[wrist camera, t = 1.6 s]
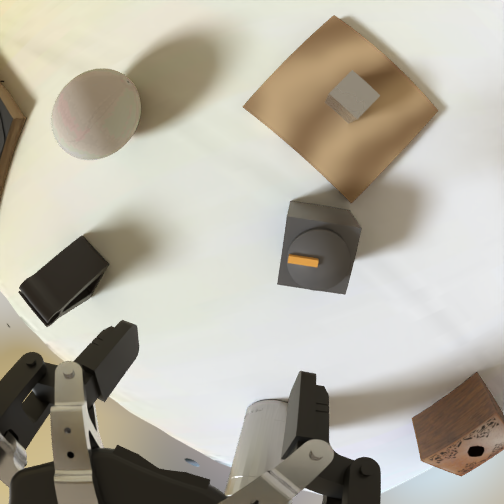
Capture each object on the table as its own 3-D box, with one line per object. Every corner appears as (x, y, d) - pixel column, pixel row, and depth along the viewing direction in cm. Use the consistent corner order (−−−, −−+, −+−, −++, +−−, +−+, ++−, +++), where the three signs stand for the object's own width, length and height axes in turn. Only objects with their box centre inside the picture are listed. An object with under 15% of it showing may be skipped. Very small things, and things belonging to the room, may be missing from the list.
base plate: (432, 111, 22) (438, 110, 21) (348, 200, 27) (351, 203, 26) (332, 20, 20) (334, 15, 19) (245, 108, 26) (242, 106, 24)
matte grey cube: (368, 103, 22) (380, 95, 18) (348, 123, 23) (357, 119, 19) (344, 81, 22) (352, 69, 18) (324, 101, 23) (328, 93, 19)
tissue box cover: (501, 411, 35) (514, 441, 26) (453, 445, 41) (461, 476, 32) (476, 370, 32) (496, 412, 23) (411, 417, 38) (420, 460, 29)
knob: (349, 210, 28) (364, 233, 20) (338, 264, 30) (347, 302, 23) (290, 200, 28) (285, 220, 21) (282, 256, 31) (275, 292, 24)
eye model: (172, 120, 27) (119, 115, 18) (112, 172, 31) (55, 187, 21) (135, 60, 25) (80, 41, 16) (82, 113, 28) (24, 114, 19)
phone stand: (83, 234, 35) (22, 268, 24) (109, 263, 36) (53, 306, 25) (66, 272, 38) (15, 307, 27) (89, 298, 39) (42, 339, 28)
